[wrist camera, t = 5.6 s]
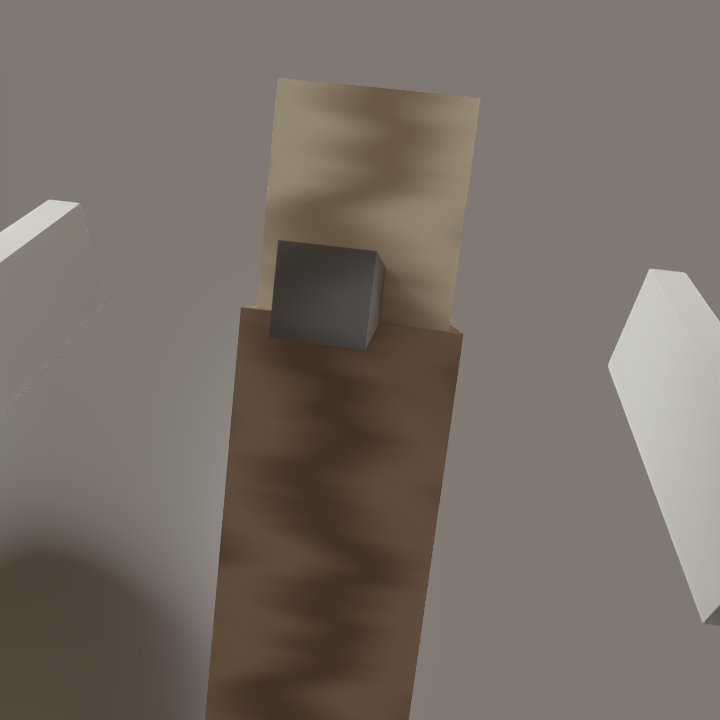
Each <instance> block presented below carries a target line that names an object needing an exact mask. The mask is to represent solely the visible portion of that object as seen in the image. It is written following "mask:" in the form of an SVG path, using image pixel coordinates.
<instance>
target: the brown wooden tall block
mask: <svg viewBox="0 0 720 720" xmlns="http://www.w3.org/2000/svg"><path fill="white" fill-rule="evenodd" d="M270 320H271V310H265V309H257V305H255V306H247V307H241V314H240V326H239V338H238V349H237V360H236V371H235V383H234V395H233V406H232V418H231V429H230V440H229V452H228V463H227V464H228V465H227V475H226V486H225V499H224V509H223V521H222V533H221V544H220V556H219V567H218V579H217V590H216V601H215V612H214V624H213V635H212V647H211V659H210V670H209V681H208V693H207V704H206V716H205V720H409V713H410V706H411V699H412V692H413V685H414V678H415V671H416V664H417V657H418V650H419V643H420V636H421V628H422V621H423V615H424V607H425V600H426V593H427V586H428V579H429V572H430V565H431V558H432V551H433V544H434V537H435V530H436V523H437V515H438V509H439V502H440V495H441V488H442V480H443V473H444V467H445V460H446V453H447V445H448V438H449V431H450V424H451V417H452V410H453V403H454V396H455V389H456V382H457V375H458V368H459V360H460V354H461V347H462V339H463V333H461V332H460V331H458V330H457V329H455V328H454V327H452V326H451V325H450V324H449V331H448V332H447V331H439V330H430V329H422V328H414V327H405V326H397V325H389V324H381V323H379V325H378V327H377V328H376V330H375V332H374V334H373V336H372V338H371V340H370V342H369V343H368V345H367V347H366V349H365V350H361V349H353V348H344V347H336V346H328V345H320V344H312V343H304V342H296V341H288V340H280V339H272V338H269V331H270Z"/></svg>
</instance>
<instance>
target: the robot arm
mask: <svg viewBox="0 0 720 720" xmlns="http://www.w3.org/2000/svg"><path fill="white" fill-rule="evenodd" d="M105 303H106V302H105V299H104V295H103V291H102V287H101V283H100V279H99V275H98V271H97V267H96V264H95V260H94V255H93V252H92V247H91V244H90V240H89V236H88V232H87V228H86V224H85V220H84V216H83V212H82V208H81V205H80V203H74V202H64V201H56V200H48V201H46V202H45V203H43V204H42V205H40V206H39V207H37V208H36V209H34V210H33V211H31V212H30V213H28V214H27V215H26V216H24V217H23V218H21V219H20V220H18V221H17V222H15V223H14V224H12V225H11V226H9V227H8V228H6V229H5V230H3V231H2V232H0V417H1V416H2V415H3V414H4V413H5V412H6V411H7V409H8V408H9V407H10V406H11V405H12V404H13V403H14V402H15V401H16V399H18V397H19V396H20V395H21V394H22V393H23V392H24V391H25V390H26V389H27V387H29V386H30V384H31V383H32V382H33V381H34V380H35V379H36V378H37V377H38V376H39V375H40V374H41V372H42V371H43V370H44V369H45V368H46V367H47V366H48V365H49V364H50V363H51V362H52V360H53V359H54V358H55V357H56V356H57V355H58V354H59V353H60V352H61V351H62V350H63V349H64V347H65V346H66V345H67V344H68V343H69V342H70V341H71V340H72V339H73V338H74V337H75V335H76V334H77V333H78V332H79V331H80V330H81V329H82V328H83V327H84V326H85V325H86V324H87V322H88V321H89V320H90V319H91V318H92V317H93V316H94V315H95V314H96V313H97V311H98V310H99V309H100V308H101V307H102V306H103V305H104V304H105ZM608 368H609V370H610V373H611V376H612V379H613V381H614V384H615V387H616V389H617V392H618V395H619V398H620V400H621V403H622V406H623V408H624V411H625V414H626V417H627V419H628V422H629V425H630V427H631V430H632V433H633V436H634V438H635V441H636V444H637V446H638V449H639V452H640V454H641V457H642V460H643V462H644V465H645V468H646V471H647V473H648V476H649V479H650V482H651V484H652V487H653V490H654V492H655V495H656V497H657V500H658V503H659V506H660V509H661V511H662V514H663V516H664V519H665V522H666V525H667V528H668V530H669V533H670V536H671V538H672V541H673V544H674V546H675V549H676V552H677V554H678V557H679V560H680V563H681V565H682V568H683V571H684V573H685V576H686V579H687V582H688V584H689V587H690V590H691V592H692V595H693V598H694V601H695V603H696V606H697V609H698V611H699V614H700V617H701V619H702V622H703V623H704V624H711V625H717V626H720V322H719V321H718V319H717V317H716V316H715V315H714V313H713V312H712V310H711V309H710V308H709V306H708V305H707V303H706V302H705V301H704V299H703V297H702V296H701V295H700V293H699V292H698V290H697V289H696V287H695V286H694V285H693V283H692V282H691V280H690V279H689V278H688V276H687V274H686V273H682V272H674V271H665V270H657V269H650V270H649V272H648V274H647V276H646V279H645V281H644V283H643V286H642V288H641V290H640V293H639V295H638V297H637V300H636V302H635V304H634V306H633V309H632V311H631V313H630V316H629V318H628V320H627V323H626V325H625V327H624V329H623V332H622V334H621V336H620V339H619V341H618V343H617V346H616V348H615V350H614V352H613V355H612V357H611V359H610V362H609V364H608Z"/></svg>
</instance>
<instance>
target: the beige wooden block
mask: <svg viewBox="0 0 720 720" xmlns="http://www.w3.org/2000/svg"><path fill="white" fill-rule="evenodd" d="M480 100H481V98H475V97H465V96H455V95H445V94H435V93H425V92H415V91H405V90H395V89H384V88H374V87H364V86H354V85H344V84H333V83H324V82H313V81H303V80H294V79H293V80H292V79H284V78H278V81H277V93H276V104H275V114H274V125H273V136H272V148H271V158H270V170H269V180H268V191H267V203H266V213H265V224H264V235H263V247H262V257H261V268H260V279H259V290H258V302H257V309H265V310H271V320H270V331H269V338H272V339H280V340H288V341H296V342H304V343H312V344H320V345H328V346H336V347H344V348H353V349H361V350H365V349H366V347H367V345H368V343H369V342H370V340H371V338H372V336H373V334H374V332H375V330H376V328H377V327H378V325H379V323H381V324H389V325H397V326H405V327H414V328H422V329H430V330H439V331H447V332H448V331H449V324H450V316H451V309H452V302H453V295H454V288H455V280H456V273H457V266H458V258H459V251H460V244H461V237H462V230H463V222H464V215H465V208H466V201H467V193H468V186H469V179H470V172H471V165H472V157H473V150H474V143H475V136H476V128H477V120H478V114H479V106H480Z"/></svg>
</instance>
